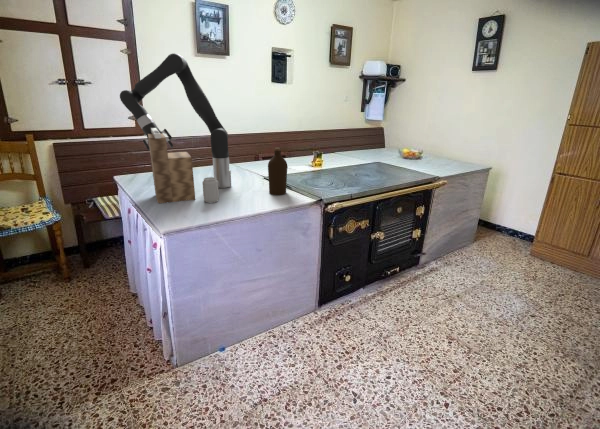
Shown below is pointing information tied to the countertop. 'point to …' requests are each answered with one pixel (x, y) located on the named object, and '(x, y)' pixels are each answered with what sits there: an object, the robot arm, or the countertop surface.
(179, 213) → the countertop surface
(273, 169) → the olive oil
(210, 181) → the can
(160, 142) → the stepped wooden block
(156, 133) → the remote
